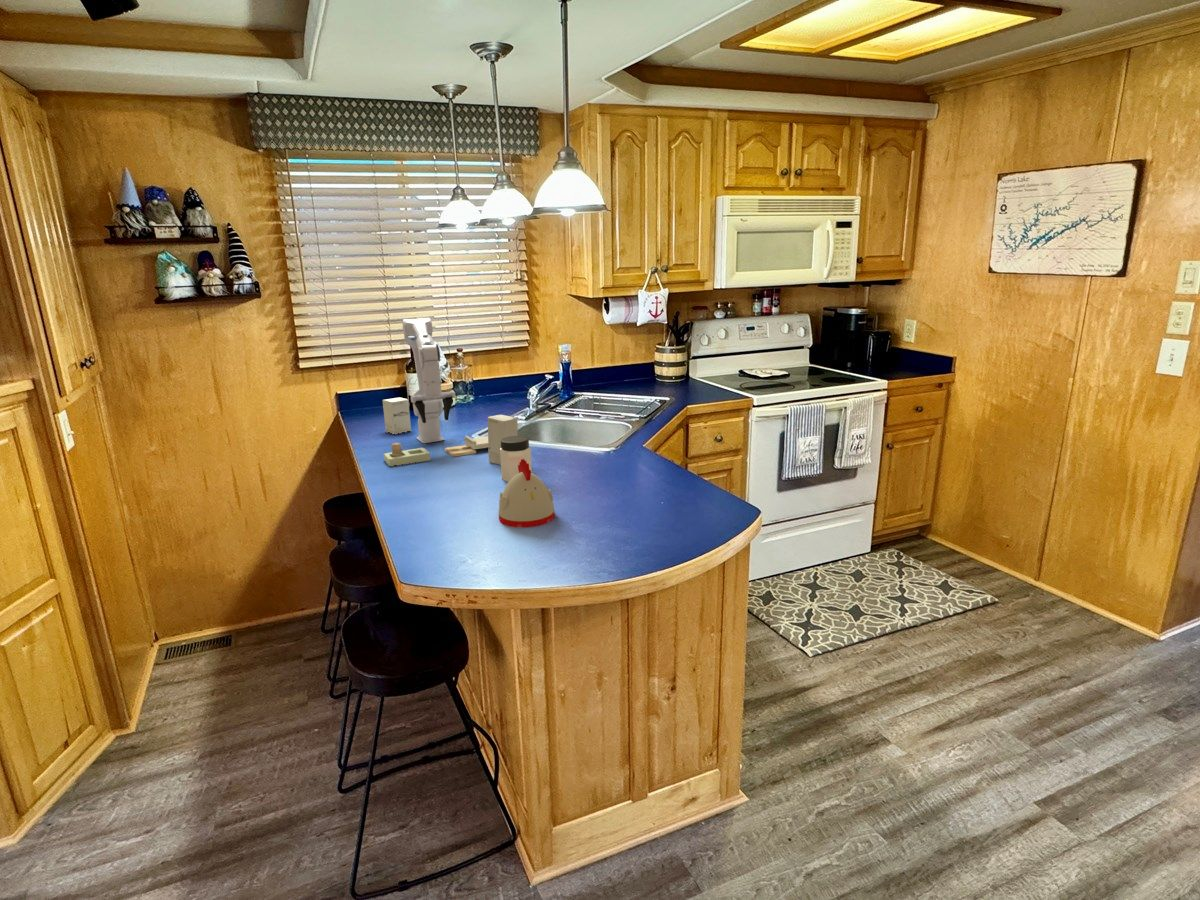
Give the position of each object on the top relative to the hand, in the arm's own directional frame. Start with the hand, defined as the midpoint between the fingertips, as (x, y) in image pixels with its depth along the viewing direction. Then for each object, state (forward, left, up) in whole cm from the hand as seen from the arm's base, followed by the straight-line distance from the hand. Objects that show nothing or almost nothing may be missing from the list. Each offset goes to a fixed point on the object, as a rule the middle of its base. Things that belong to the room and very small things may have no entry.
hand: (435, 421), depth 235 cm
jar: (+44, +11, -11) cm, 47 cm away
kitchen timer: (+75, +1, -11) cm, 76 cm away
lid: (+6, +13, -9) cm, 17 cm away
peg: (+6, -15, -10) cm, 19 cm away
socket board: (+6, -12, -10) cm, 17 cm away
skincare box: (+26, +14, -11) cm, 31 cm away
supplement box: (-36, -5, -11) cm, 38 cm away
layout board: (+6, +6, -10) cm, 13 cm away
